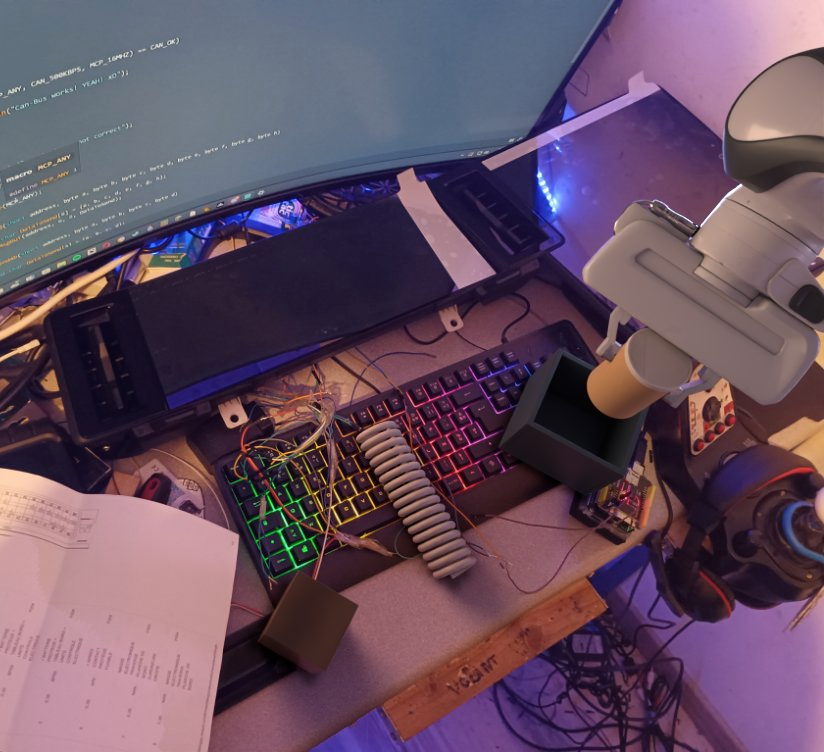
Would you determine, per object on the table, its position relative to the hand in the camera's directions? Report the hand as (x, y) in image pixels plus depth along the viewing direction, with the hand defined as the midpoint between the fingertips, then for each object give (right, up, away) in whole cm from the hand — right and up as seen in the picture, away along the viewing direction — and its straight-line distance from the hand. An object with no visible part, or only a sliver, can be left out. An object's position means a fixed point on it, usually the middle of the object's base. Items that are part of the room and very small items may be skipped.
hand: (634, 379), depth 67 cm
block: (-32, -25, +4) cm, 40 cm away
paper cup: (0, -1, +4) cm, 4 cm away
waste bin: (-2, -7, +16) cm, 18 cm away
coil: (-20, -14, +11) cm, 26 cm away
